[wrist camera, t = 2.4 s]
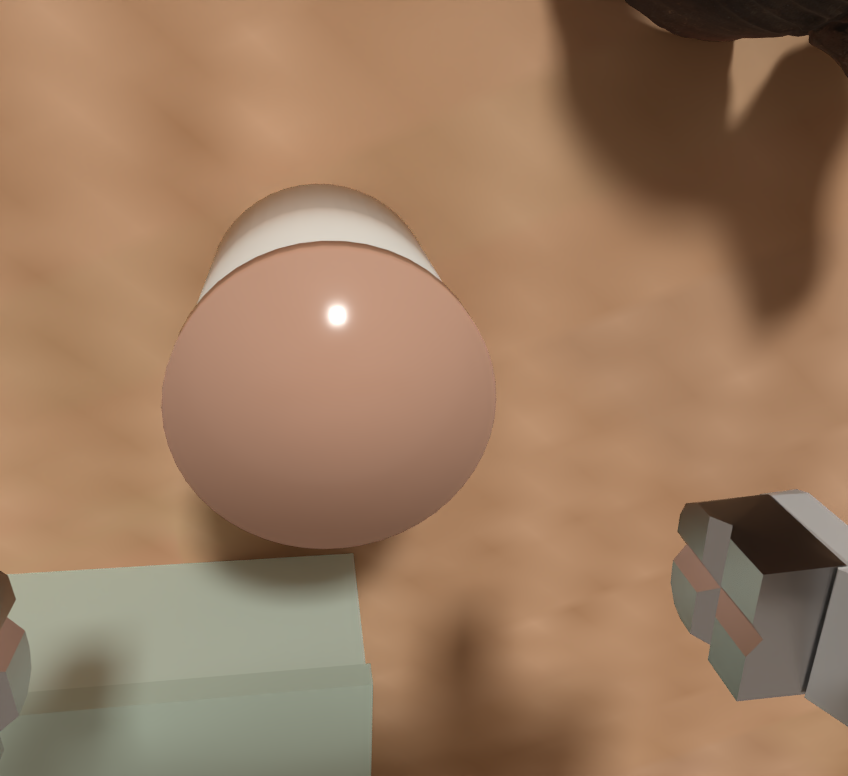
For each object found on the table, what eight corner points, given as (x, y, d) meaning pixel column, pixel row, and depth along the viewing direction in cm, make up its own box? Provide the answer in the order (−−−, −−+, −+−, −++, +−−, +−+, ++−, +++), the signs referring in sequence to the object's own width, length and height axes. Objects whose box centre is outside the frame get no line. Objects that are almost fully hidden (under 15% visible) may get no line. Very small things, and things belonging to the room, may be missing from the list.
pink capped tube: (188, 183, 16) (132, 260, 10) (433, 174, 16) (501, 241, 11) (220, 405, 18) (188, 564, 12) (434, 388, 19) (491, 532, 13)
